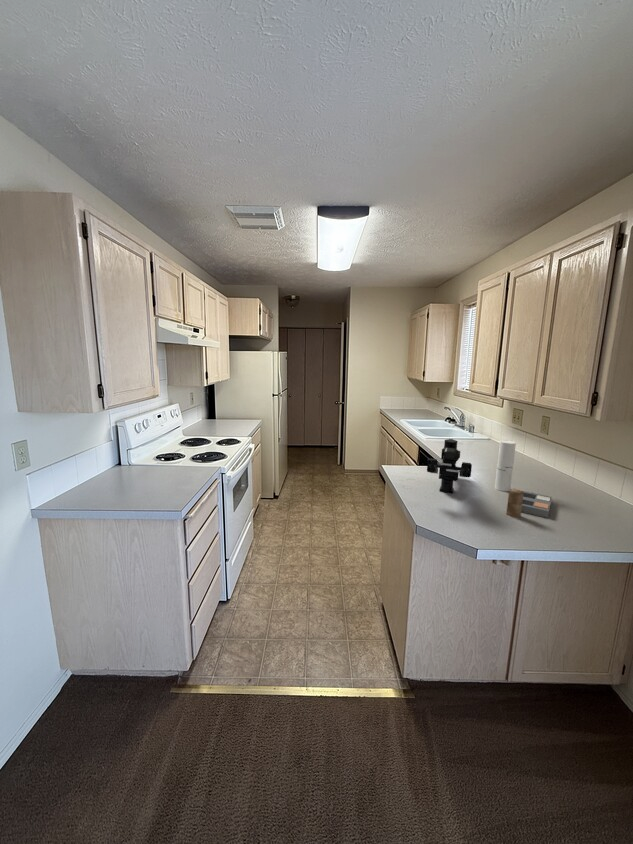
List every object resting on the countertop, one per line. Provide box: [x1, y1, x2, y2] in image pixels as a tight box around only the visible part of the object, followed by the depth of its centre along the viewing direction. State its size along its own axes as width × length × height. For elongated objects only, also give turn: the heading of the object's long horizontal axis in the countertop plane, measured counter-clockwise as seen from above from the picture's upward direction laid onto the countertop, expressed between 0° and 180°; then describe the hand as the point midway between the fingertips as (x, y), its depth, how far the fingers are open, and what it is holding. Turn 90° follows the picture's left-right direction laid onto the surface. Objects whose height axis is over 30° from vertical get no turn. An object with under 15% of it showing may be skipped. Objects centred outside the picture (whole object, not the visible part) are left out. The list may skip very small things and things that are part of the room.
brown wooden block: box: [506, 488, 524, 519], centre depth 148 cm, size 4×4×11 cm
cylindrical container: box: [494, 439, 517, 492], centre depth 178 cm, size 7×7×25 cm
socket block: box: [521, 490, 553, 519], centre depth 159 cm, size 14×20×3 cm
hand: (448, 473), depth 150 cm, fingers open, 9 cm apart
